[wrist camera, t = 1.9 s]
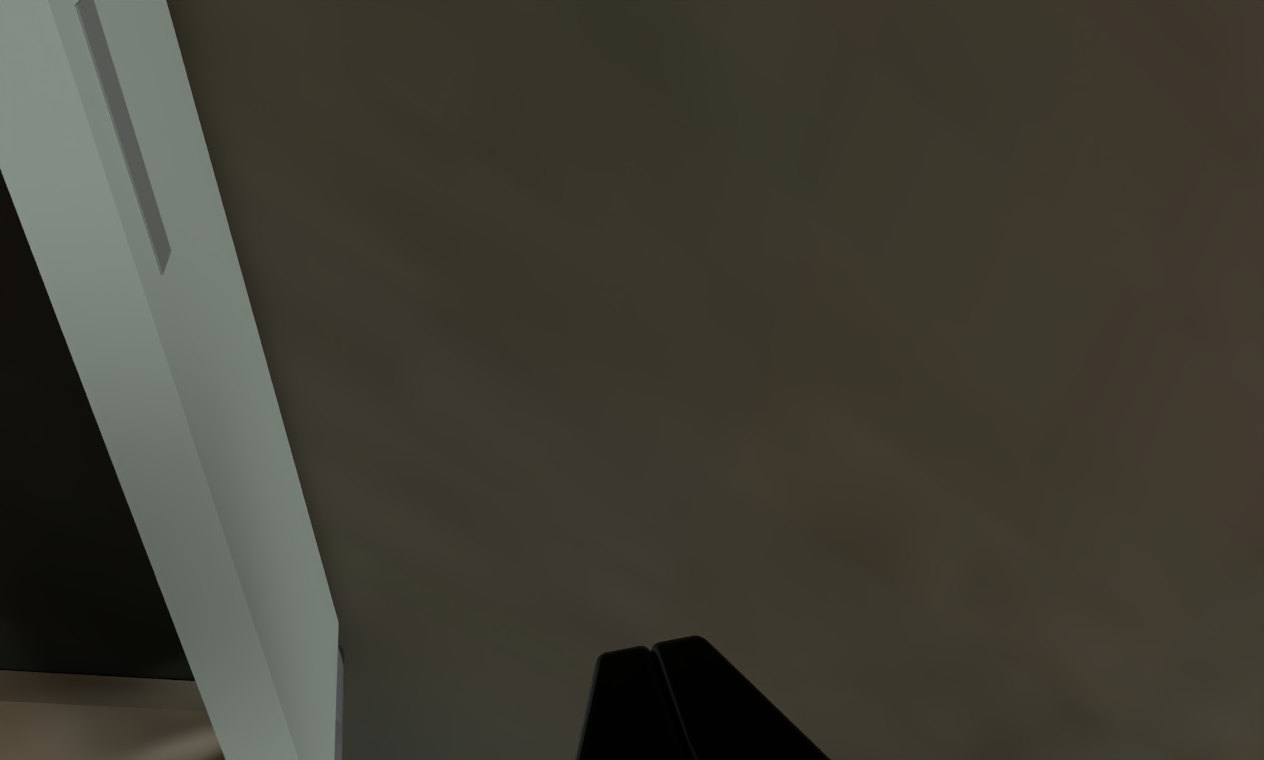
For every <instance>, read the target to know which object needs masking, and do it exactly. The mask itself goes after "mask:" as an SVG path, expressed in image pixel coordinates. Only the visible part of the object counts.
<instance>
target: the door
mask: <svg viewBox="0 0 1264 760" xmlns="http://www.w3.org/2000/svg"><path fill="white" fill-rule="evenodd" d="M0 169H1V172H2V174H3V177H4V180H5V182H6V185H7V187H8V190H9V193H10V195H11V198H12V201H13V203H14V206H15V208H16V211H17V214H18V216H19V219H20V222H21V224H22V227H23V229H24V232H25V235H26V237H27V240H28V243H29V245H30V248H31V250H32V253H33V256H34V258H35V261H36V264H37V266H38V269H39V271H40V274H41V277H42V279H43V282H44V285H45V287H46V290H47V292H48V295H49V298H50V300H51V303H52V306H53V308H54V311H55V313H56V316H57V319H58V321H59V324H60V327H61V329H62V332H63V334H64V337H65V340H66V342H67V345H68V348H69V350H70V353H71V355H72V358H73V361H74V363H75V366H76V369H77V371H78V374H79V376H80V379H81V382H82V384H83V387H84V390H85V392H86V395H87V397H88V400H89V403H90V405H91V408H92V411H93V413H94V416H95V418H96V421H97V424H98V426H99V429H100V432H101V434H102V437H103V439H104V442H105V445H106V447H107V450H108V453H109V455H110V458H111V460H112V463H113V466H114V468H115V471H116V474H117V476H118V479H119V481H120V484H121V487H122V489H123V492H124V495H125V497H126V500H127V502H128V505H129V508H130V510H131V513H132V516H133V518H134V521H135V523H136V526H137V529H138V531H139V534H140V537H141V539H142V542H143V544H144V547H145V550H146V552H147V555H148V558H149V560H150V563H151V565H152V568H153V571H154V573H155V576H156V579H157V581H158V584H159V586H160V589H161V592H162V594H163V597H164V600H165V602H166V605H167V607H168V610H169V613H170V615H171V618H172V621H173V623H174V626H175V628H176V631H177V634H178V636H179V639H180V642H181V644H182V647H183V649H184V652H185V655H186V657H187V660H188V662H189V665H190V668H191V670H192V673H193V676H194V678H195V681H196V683H197V686H198V689H199V691H200V694H201V697H202V699H203V702H204V704H205V707H206V710H207V712H208V715H209V718H210V720H211V723H212V725H213V728H214V731H215V733H216V736H217V739H218V741H219V744H220V746H221V749H222V752H223V754H224V757H225V760H342V733H343V691H344V651H343V649H342V647H341V646H340V645H338V619H337V616H336V612H335V609H334V605H333V601H332V598H331V594H330V591H329V587H328V583H327V580H326V576H325V572H324V569H323V565H322V562H321V558H320V554H319V551H318V547H317V544H316V540H315V536H314V533H313V529H312V526H311V522H310V518H309V515H308V511H307V507H306V504H305V500H304V497H303V493H302V489H301V486H300V482H299V479H298V475H297V471H296V468H295V464H294V461H293V457H292V453H291V450H290V446H289V442H288V439H287V435H286V432H285V428H284V424H283V421H282V417H281V414H280V410H279V406H278V403H277V399H276V396H275V392H274V388H273V385H272V381H271V378H270V374H269V370H268V367H267V363H266V359H265V356H264V352H263V349H262V345H261V341H260V338H259V334H258V331H257V327H256V323H255V320H254V316H253V313H252V309H251V305H250V302H249V298H248V294H247V291H246V287H245V284H244V280H243V276H242V273H241V269H240V266H239V262H238V258H237V255H236V251H235V248H234V244H233V240H232V237H231V233H230V229H229V226H228V222H227V219H226V215H225V211H224V208H223V204H222V201H221V197H220V193H219V190H218V186H217V183H216V179H215V175H214V172H213V168H212V164H211V161H210V157H209V154H208V150H207V146H206V143H205V139H204V136H203V132H202V128H201V125H200V121H199V118H198V114H197V110H196V107H195V103H194V99H193V96H192V92H191V89H190V85H189V81H188V78H187V74H186V71H185V67H184V63H183V60H182V56H181V53H180V49H179V45H178V42H177V38H176V34H175V31H174V27H173V24H172V20H171V16H170V13H169V9H168V6H167V2H166V0H0Z"/></svg>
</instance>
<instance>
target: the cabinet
mask: <svg viewBox="0 0 1264 760" xmlns="http://www.w3.org/2000/svg"><path fill="white" fill-rule="evenodd" d="M0 760H225V757H224V754H223V752H222V749H221V746H220V744H219V741H218V739H217V736H216V733H215V731H214V728H213V725H212V723H211V720H210V718H209V715H208V712H207V710H206V707H205V704H204V702H203V699H202V697H201V694H200V691H199V689H198V686H197V683H196V681H182V680H165V679H147V678H130V677H112V676H95V675H77V674H60V673H42V672H25V671H8V670H0Z"/></svg>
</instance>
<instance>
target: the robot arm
mask: <svg viewBox="0 0 1264 760" xmlns="http://www.w3.org/2000/svg"><path fill="white" fill-rule="evenodd" d="M575 760H830V759H829V758H828V757H827V756H826V755H825V754H824V753H823V752H822V751H821V750H820V749H819V748H818V747H817V746H816V745H815V744H814V743H813V742H812V741H811V740H810V739H809V738H808V737H806V736H805V735H804V734H803V733H802V732H801V731H800V730H799V729H798V728H797V727H796V726H795V725H794V724H793V723H792V722H791V721H790V720H789V719H788V718H787V717H786V716H785V715H784V714H783V713H782V712H781V711H780V710H779V709H778V708H776V707H775V706H774V705H773V704H772V703H771V702H770V701H769V700H768V699H767V698H766V697H765V696H764V695H763V694H762V693H761V692H760V691H759V690H758V689H757V688H756V687H755V686H754V685H753V684H752V683H751V682H750V681H749V680H747V679H746V678H745V677H744V676H743V675H742V674H741V673H740V672H739V671H738V670H737V669H736V668H735V667H734V666H733V665H732V664H731V663H730V662H729V661H728V660H727V659H726V658H725V657H724V656H723V655H722V654H721V653H720V652H718V651H717V650H716V649H715V648H714V647H713V646H712V645H711V644H710V643H709V642H708V641H707V640H706V639H704V638H703V637H700V636H690V637H684V638H679V639H674V640H669V641H663V642H659V643H656V644H655V645H654V646H653V647H652V650H651V652H650V650H649V649H648V648H647V647H644V646H637V647H632V648H627V649H622V650H617V651H612V652H606V653H603V654H601V655H600V656H599V658H598V659H597V661H596V665H595V669H594V674H593V678H592V683H591V687H590V692H589V696H588V701H587V705H586V710H585V715H584V719H583V724H582V728H581V733H580V737H579V742H578V746H577V751H576V756H575Z"/></svg>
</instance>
